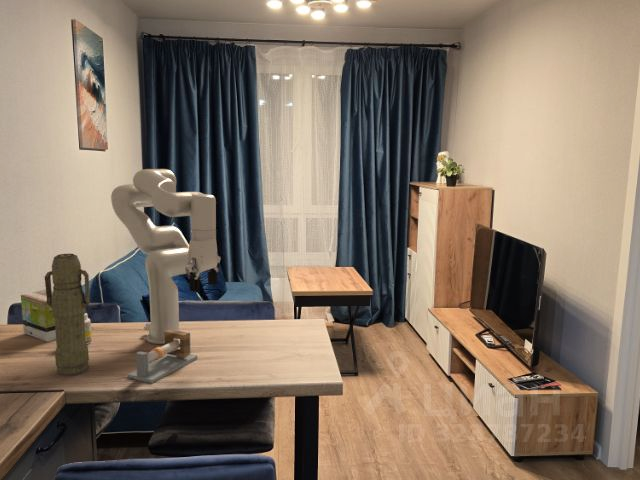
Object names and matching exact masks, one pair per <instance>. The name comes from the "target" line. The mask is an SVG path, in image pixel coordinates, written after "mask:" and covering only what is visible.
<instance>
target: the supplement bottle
mask: <svg viewBox="0 0 640 480" xmlns="http://www.w3.org/2000/svg"><path fill="white" fill-rule="evenodd" d="M84 321H85V338H86V344H87V345H89V344H91V343H92V324H91V319H90V318H89V317H88V313H87V312H85V314H84Z"/></svg>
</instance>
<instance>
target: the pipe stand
mask: <svg viewBox="0 0 640 480" xmlns="http://www.w3.org/2000/svg"><path fill="white" fill-rule="evenodd" d="M188 333H189V355H188V356H187V357H185V358H184V357H179V356H174V355H170V354H167V353H169V352H171V351H173V350H175V349H180V339H177V340H174V341H172V342H170V343H168V344H166V345H165V344H163V345H162V346H157V347H155V348H153V349H151V350H150V351H149V352H145V351H142V350H141V351H138V352H136V353H135V356H136V357H135V361H136V370H133V371H132V372H131V371H130V372H129V373H128V374H127V378H129V379H132V378H133V380H137V381H141V382H145V383H149V384H154V383H156V382H157V381H159V380H161V379H163V378H164V377H166V376H168V375H170V374H172V373H173V372H176V371H178V370H179V369H181V368H182V367H184V366H187V365H188V364H190V363H193V362H194V361H195V360H197V359H198V355H197V354H193V353H191V333H190V332H188Z"/></svg>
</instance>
